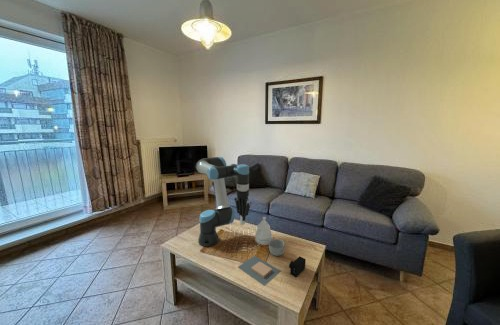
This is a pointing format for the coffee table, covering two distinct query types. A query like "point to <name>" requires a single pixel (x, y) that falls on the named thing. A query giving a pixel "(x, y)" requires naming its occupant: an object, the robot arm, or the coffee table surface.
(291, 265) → the digital camera
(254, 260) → the mat
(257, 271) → the tile
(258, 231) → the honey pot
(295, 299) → the coffee table surface
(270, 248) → the teacup
